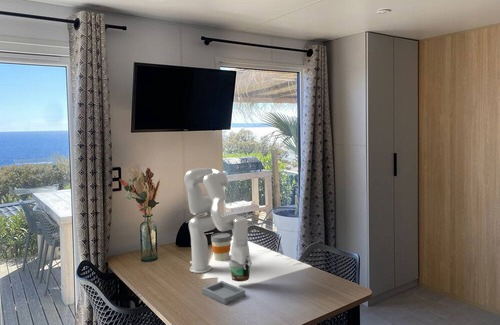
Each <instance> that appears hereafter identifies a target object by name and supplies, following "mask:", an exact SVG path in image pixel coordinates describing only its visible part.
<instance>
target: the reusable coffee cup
mask: <svg viewBox="0 0 500 325" xmlns="http://www.w3.org/2000/svg"><path fill="white" fill-rule="evenodd" d="M210 237H211V238H210V241H211V248H212V252H213V256H214V260H215V261H218V262H223V261H227V260H229V259H230V252H231V247H232V245H231V244H232V243H231V240H232V238H231V234H230V233H227V232H217V233H212V234H211V236H210Z"/></svg>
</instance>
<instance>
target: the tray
mask: <svg viewBox="0 0 500 325" xmlns="http://www.w3.org/2000/svg"><path fill="white" fill-rule="evenodd" d="M201 292H202V293H201V295H204V296H206V297H208V298H210V299H212V300H214V301H216V302H218V303H220V304H223V305H225V306H226V305H227V304H230V303H232V302H235V301H237V300H239V299H242V298H245V297H246V290H245V289H243V288H240V287H238V286H236V285H233V284H231V283H228V282H225V281H223V280H221V281H218V282H215V283H212V284H209V285H207V286H204V287H202V288H201Z"/></svg>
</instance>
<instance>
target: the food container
mask: <svg viewBox="0 0 500 325" xmlns="http://www.w3.org/2000/svg"><path fill="white" fill-rule="evenodd" d="M250 261H251V262H252V260H251V259H250ZM245 266H247V264H245ZM228 267H230V274H231V280H232V281H234V282H246V281H248V280H249V279H250V274H251V273H250V270H251V266H250V267H249V275H248V276H246V277H244V276H243V269H244V267H243V265H241V264H239V263H236V262H232V261H229V262H228Z"/></svg>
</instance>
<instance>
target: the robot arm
mask: <svg viewBox="0 0 500 325" xmlns="http://www.w3.org/2000/svg"><path fill="white" fill-rule="evenodd" d="M183 180H184V186H185V189H186V191H187V192H186V193H187V201H188V209H189V212H190V214H192V215H195V217H192V218H191V219H190V220H189V222H188V230H189V234H190V235H189V236H190V246H191V260H190V261H189V264H191V266H190V267H189V272H192V273H195V274H203V273H207V272H209V271H210V270H212V266H211V265H209V246H208V237H207V236H206V234H205V232H206V233H207V232H209V231H212V230H215V229H217V231H219V232H227V231H231V230H232V232H233V233H232V234H233V236H232V237H233V238H232V240H233V242H232V243H231V244H232V245H231V250H230V254H231V255H229V258H230V261H231V262H236V263H239V264H241V265H243V267H244V269H243V276H244V277H246V276H248V275H249V276H250V274H249V267H250V268H251V267H252V265H253V262H252V260H251V257H250V256H251V255H250V248H249V246H250V245H249V244H248V243H249V242H248V241H249V240H248V239H249V238H248V237H249V235H248V230H249V228H248V227H249V226H248V223H249V222H248V219H247V218H246V217H241V216H239V215H238V214H230V215H229V214H228V215H225V216H222V214H221V212H220V205H221V204H222V203H223V202H224V201H226V199H227V194H226V192H225V190H224V187H226V186H228V181H229V180H228V177H227V175H226V174H225V173H224V172H223V171H221V170H218V169H216V168H213V167H202V168H193V169H190V170H188V171H186V173H185V175H184V177H183ZM199 184H203V185H204V188H205V189H206V192H207V194H208V195H207V196H203V190H202V188H201V186H200V185H199ZM201 214H204V215H201ZM196 215H198V216H196ZM250 260H251V261H250ZM245 264H247V266H245Z"/></svg>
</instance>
